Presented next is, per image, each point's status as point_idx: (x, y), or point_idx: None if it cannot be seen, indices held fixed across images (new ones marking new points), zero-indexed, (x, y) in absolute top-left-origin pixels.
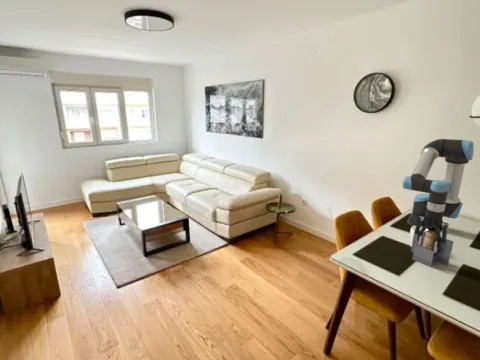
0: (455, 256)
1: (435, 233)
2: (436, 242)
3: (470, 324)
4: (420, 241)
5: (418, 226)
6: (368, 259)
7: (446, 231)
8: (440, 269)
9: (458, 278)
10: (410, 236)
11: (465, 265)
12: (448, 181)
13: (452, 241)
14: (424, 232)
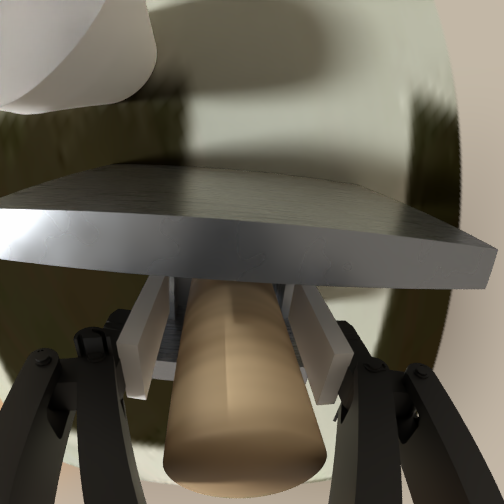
0: (361, 17)
1: (321, 451)
2: (328, 399)
3: None
4: (157, 354)
5: (48, 499)
6: (75, 422)
7: (483, 491)
8: (329, 287)
9: (403, 305)
10: (25, 90)
11: (425, 113)
12: None
13: (487, 269)
14: (90, 248)
